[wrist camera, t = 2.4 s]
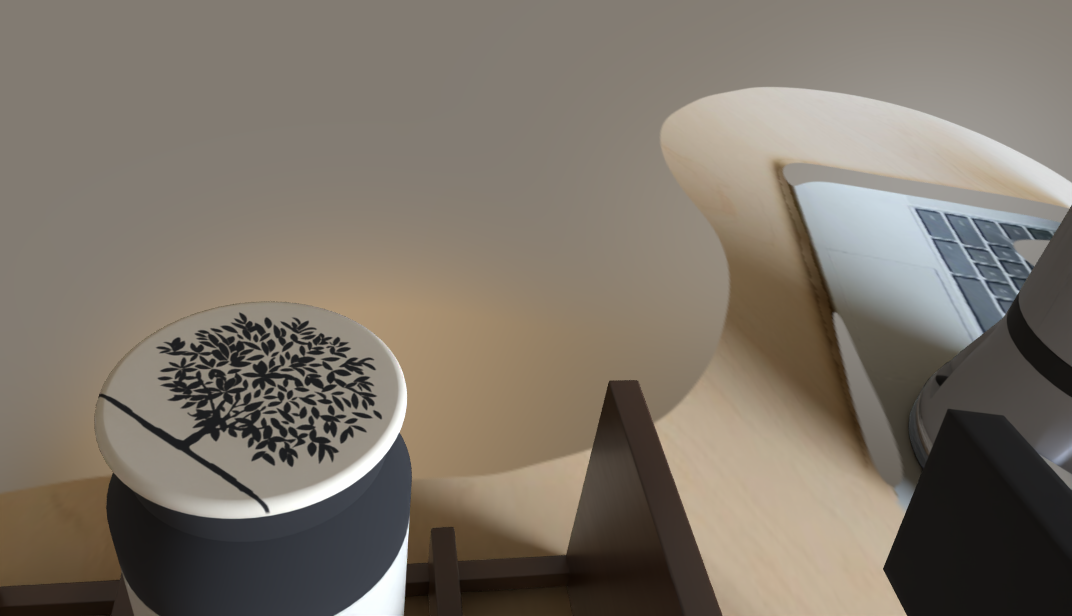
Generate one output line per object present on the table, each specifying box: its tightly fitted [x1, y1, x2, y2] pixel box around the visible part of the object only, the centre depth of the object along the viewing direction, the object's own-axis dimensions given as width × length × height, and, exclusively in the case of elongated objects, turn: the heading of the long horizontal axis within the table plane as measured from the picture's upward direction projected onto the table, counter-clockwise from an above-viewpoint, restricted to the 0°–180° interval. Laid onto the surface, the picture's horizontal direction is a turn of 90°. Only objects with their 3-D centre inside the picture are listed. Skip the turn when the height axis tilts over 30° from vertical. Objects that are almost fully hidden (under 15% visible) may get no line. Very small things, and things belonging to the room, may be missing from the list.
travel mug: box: [94, 302, 412, 616], centre depth 27 cm, size 8×8×18 cm
